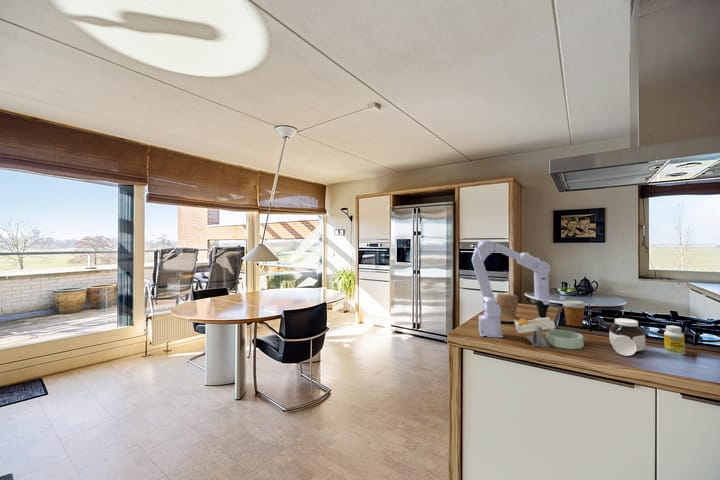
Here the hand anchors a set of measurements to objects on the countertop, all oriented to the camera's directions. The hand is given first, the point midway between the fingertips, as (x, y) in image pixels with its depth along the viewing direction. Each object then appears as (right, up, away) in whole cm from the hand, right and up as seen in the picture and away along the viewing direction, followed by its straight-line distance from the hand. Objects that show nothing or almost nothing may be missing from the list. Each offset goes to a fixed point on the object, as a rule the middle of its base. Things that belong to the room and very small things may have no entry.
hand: (542, 317), depth 138 cm
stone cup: (-4, -9, +27) cm, 28 cm away
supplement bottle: (+36, -7, -23) cm, 43 cm away
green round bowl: (+3, -8, -10) cm, 14 cm away
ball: (-12, -1, -6) cm, 13 cm away
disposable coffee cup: (+24, -8, +14) cm, 29 cm away
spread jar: (+19, -8, -22) cm, 30 cm away
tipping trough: (-6, -3, -3) cm, 8 cm away
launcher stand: (-7, -9, -7) cm, 13 cm away
